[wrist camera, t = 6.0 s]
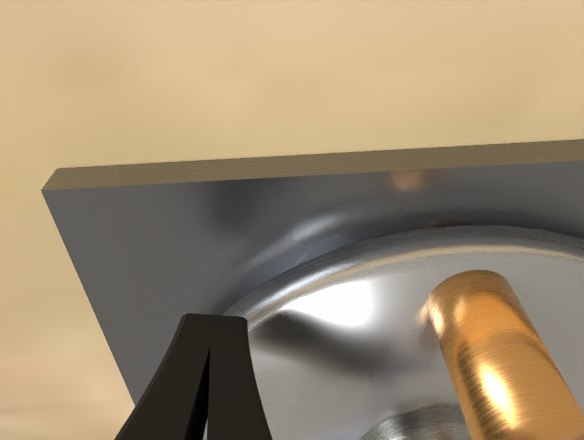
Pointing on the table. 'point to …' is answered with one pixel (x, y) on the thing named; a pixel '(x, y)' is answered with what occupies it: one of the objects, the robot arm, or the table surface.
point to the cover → (423, 425)
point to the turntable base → (278, 223)
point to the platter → (425, 334)
